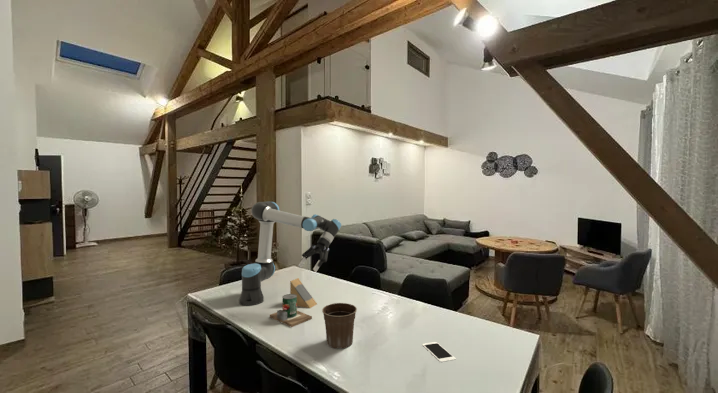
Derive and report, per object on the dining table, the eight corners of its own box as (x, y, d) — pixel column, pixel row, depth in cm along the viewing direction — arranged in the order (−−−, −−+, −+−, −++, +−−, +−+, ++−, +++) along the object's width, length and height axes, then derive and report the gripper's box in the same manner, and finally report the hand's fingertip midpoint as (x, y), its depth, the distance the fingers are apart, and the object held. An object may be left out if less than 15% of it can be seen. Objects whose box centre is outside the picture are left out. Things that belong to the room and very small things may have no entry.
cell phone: (440, 363, 130) (440, 361, 130) (421, 345, 145) (421, 343, 145) (456, 360, 132) (456, 358, 132) (436, 342, 148) (436, 341, 148)
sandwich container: (310, 308, 190) (310, 284, 190) (290, 304, 197) (290, 281, 197) (317, 304, 198) (317, 280, 198) (298, 300, 205) (298, 277, 204)
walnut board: (269, 317, 176) (269, 307, 176) (289, 310, 187) (289, 301, 187) (291, 327, 163) (291, 316, 163) (311, 319, 174) (311, 309, 174)
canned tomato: (279, 317, 173) (279, 297, 172) (287, 312, 180) (287, 293, 180) (291, 319, 170) (291, 299, 170) (299, 314, 177) (299, 294, 177)
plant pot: (343, 355, 135) (343, 318, 135) (315, 345, 144) (315, 311, 144) (363, 340, 149) (363, 307, 149) (335, 332, 158) (335, 300, 157)
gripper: (342, 246, 189) (324, 276, 178) (315, 242, 205) (297, 269, 194) (336, 238, 185) (317, 268, 174) (308, 235, 201) (290, 262, 190)
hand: (306, 268), depth 184 cm, fingers open, 13 cm apart
